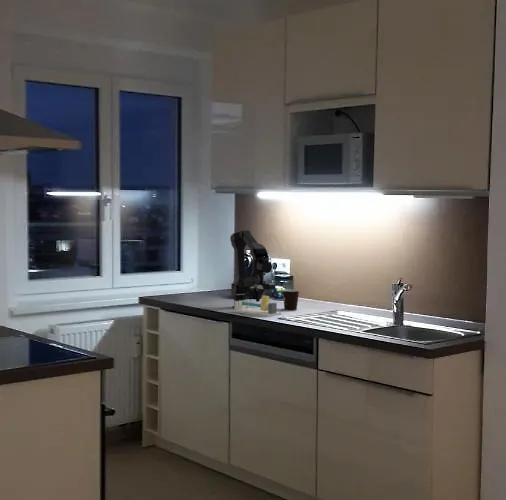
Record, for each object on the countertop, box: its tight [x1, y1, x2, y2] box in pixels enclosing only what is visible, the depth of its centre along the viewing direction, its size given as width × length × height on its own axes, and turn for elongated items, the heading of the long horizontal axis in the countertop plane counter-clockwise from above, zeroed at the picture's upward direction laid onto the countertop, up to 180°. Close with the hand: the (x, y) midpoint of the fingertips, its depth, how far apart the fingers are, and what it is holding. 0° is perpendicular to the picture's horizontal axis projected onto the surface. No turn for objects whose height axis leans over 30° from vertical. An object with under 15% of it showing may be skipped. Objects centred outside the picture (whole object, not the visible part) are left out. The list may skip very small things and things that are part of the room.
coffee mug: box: [282, 289, 300, 311], centre depth 422 cm, size 12×9×10 cm
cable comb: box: [232, 298, 282, 317], centre depth 407 cm, size 23×11×6 cm, turn 50°
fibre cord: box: [242, 302, 278, 314], centre depth 407 cm, size 22×4×5 cm, turn 50°
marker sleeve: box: [260, 295, 271, 311], centre depth 404 cm, size 3×4×7 cm
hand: (257, 301), depth 407 cm, fingers closed
